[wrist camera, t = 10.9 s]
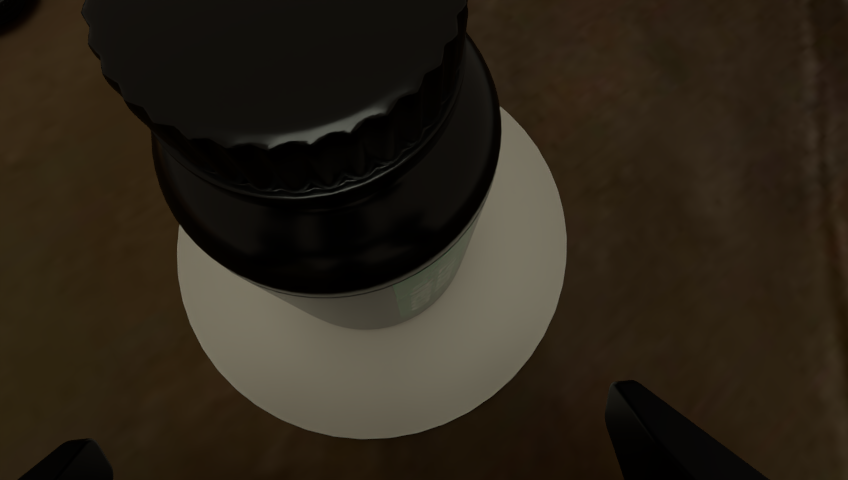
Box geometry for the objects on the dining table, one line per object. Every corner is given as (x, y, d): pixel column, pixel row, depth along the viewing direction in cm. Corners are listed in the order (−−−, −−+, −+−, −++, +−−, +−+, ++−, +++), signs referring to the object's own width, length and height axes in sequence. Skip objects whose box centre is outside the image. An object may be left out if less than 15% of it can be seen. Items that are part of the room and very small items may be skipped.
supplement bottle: (478, 316, 17) (612, 198, 5) (280, 345, 17) (-42, 283, 5) (448, 138, 19) (500, -246, 7) (269, 160, 18) (11, -204, 7)
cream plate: (609, 380, 17) (620, 381, 16) (214, 481, 16) (202, 488, 15) (502, 48, 21) (506, 32, 20) (170, 115, 20) (158, 102, 19)
